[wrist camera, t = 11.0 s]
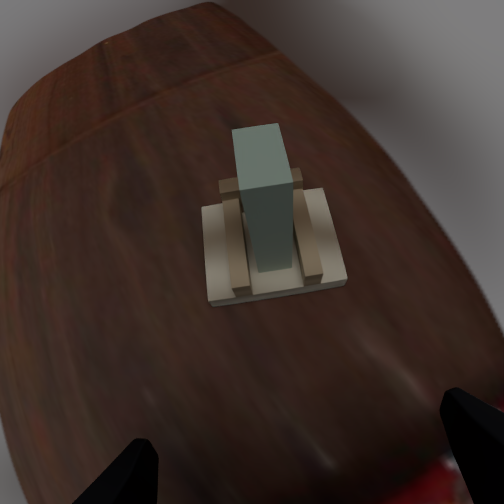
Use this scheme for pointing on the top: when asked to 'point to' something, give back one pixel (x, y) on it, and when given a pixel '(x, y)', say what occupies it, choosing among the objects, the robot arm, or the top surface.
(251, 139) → the plank
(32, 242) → the top surface
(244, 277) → the groove base
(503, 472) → the robot arm
